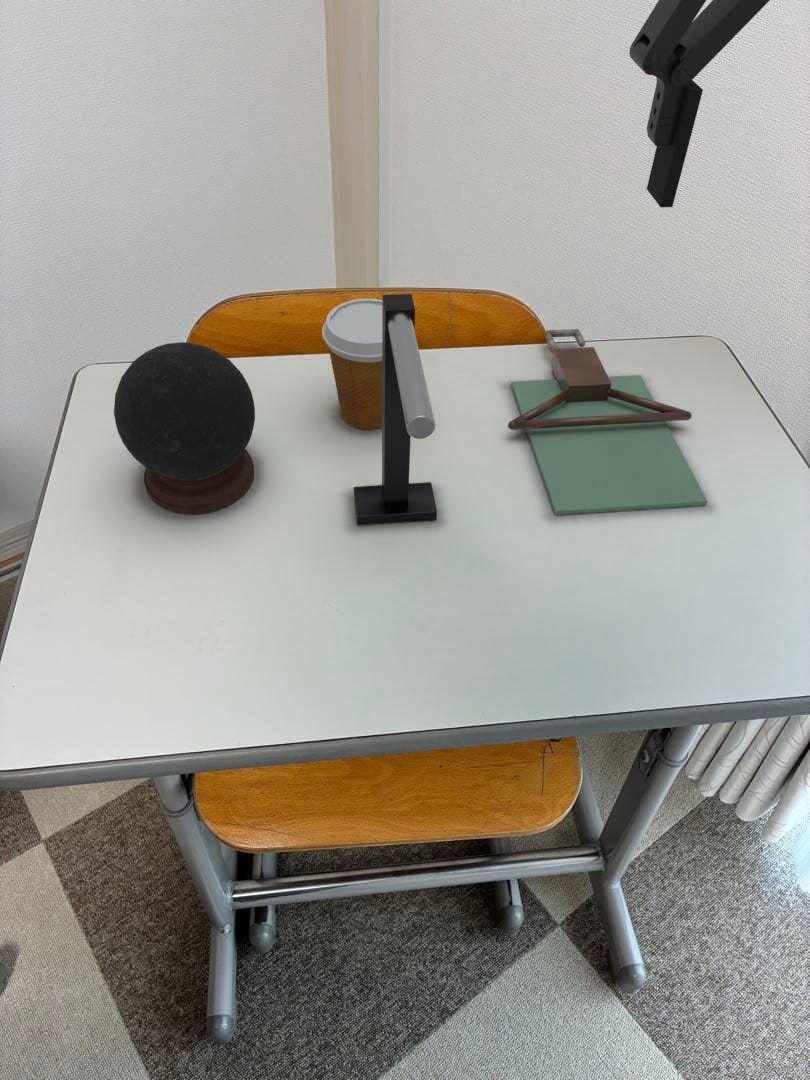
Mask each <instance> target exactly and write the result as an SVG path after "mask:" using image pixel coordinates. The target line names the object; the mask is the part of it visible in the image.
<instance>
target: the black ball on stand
mask: <svg viewBox="0 0 810 1080" xmlns="http://www.w3.org/2000/svg"><path fill="white" fill-rule="evenodd" d="M114 395H115V396H114V406H113V416H114V417H113V418H114V422H115V426H116V429H117V434H118V436H119V437H120V439H121V442H122V444H123V445H124V447H125V448H126V450H127V451H128V452H129V454H130V455H131V457H132V458H133V459H135V460H136V461H137V462H138V463H139V464H141V466H143V467H145V469H144V473H143V482H144V487H145V490H146V493H147V495H148V497H149V498H150V500H151V501H153V502H154V504H156V505H157V506H158V507H160V508H162V509H164V510H166V511H168V512H172V513H174V514H181V515H203V514H209V513H213V512H217V511H220V510H222V509H225V508H228V507H229V506H231V505H233V504H234V503H236V502H238V501H239V500H240V499H241V498H242V497H243V496H245V494H246V493H247V492H248V491H249V490H250V489H251V486H252V484H253V482H254V478H255V466H254V461H253V459H252V456H251V455H250V453H249V452H248V450H247V447H248V444H249V442H250V441H251V438H252V435H253V432H254V427H255V423H256V408H255V407H256V406H255V401H254V397H253V393H252V390H251V387H250V386H249V383H248V382H247V380H246V378H245V376H244V374H243V373H242V372H241V371H240V369H238V368H237V366H236V365H235V364H234V363H233V362H232V361H231V360H230V359H229V358H227V357H226V356H225V355H223V354H221V353H220V352H218V351H217V350H215V349H213V348H210V347H208V346H204V345H200V344H197V343H194V342H184V341H182V342H181V341H180V342H169V343H165V344H162V345H158V346H156V347H153V348H151V349H149V350H147V351H145V352H144V353H142V354H141V355H139V356H138V357H137V358H136V359H134V361H132V362H131V364H130V365H129V366H128V368H127V369H126V370H125V371H124V373H123V375H122V376H121V378H120V381H119V382H118V385H117V388H116V391H115V393H114Z"/></svg>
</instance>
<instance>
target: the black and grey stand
mask: <svg viewBox="0 0 810 1080" xmlns="http://www.w3.org/2000/svg"><path fill="white" fill-rule="evenodd" d="M381 300H382V427H381V484H378V485H361V486H353V501H354V509H355V510H354V511H355V520H356V521H355V522H356V526H365V525H381V524H394V523H395V524H396V523H411V522H427V521H437V519H438V518H437V517H438V510H437V504H436V499H435V495H434V494H435V493H434V490H433V483H432V482H431V481H427V482H411V483H410V465H411V463H410V462H411V438H413V439H417V440H421V439H426V438H429V437H430V436H431V435H433V433H434V432H435V429H436V423H435V417H434V413H433V409H432V404H431V398H430V395H429V391H428V385H427V381H426V377H425V372H424V367H423V363H422V358H421V354H420V350H419V345H418V340H417V336H416V331H415V328H416V308H415V307H416V306H415V303H414V298H413V294H412V293H400V294H397V293H396V294H382V299H381Z"/></svg>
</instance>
